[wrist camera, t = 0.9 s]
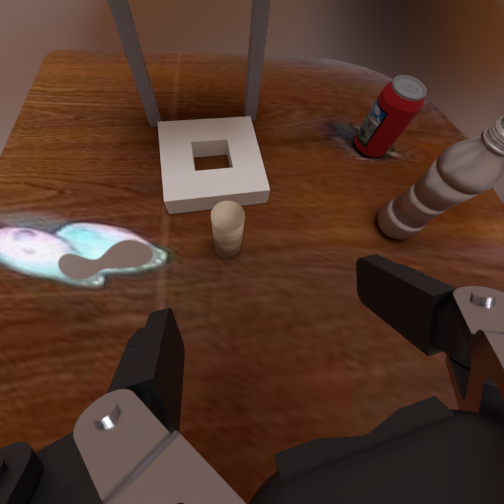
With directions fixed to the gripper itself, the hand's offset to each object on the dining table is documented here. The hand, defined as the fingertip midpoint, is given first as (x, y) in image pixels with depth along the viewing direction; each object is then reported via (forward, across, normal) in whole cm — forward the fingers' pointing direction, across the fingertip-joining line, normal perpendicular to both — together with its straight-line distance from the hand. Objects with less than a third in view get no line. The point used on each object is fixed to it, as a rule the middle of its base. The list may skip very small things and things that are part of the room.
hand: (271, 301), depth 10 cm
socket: (+37, -1, -5) cm, 38 cm away
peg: (+28, 0, +6) cm, 28 cm away
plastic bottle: (+27, -28, +9) cm, 40 cm away
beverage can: (+39, -32, -4) cm, 50 cm away
